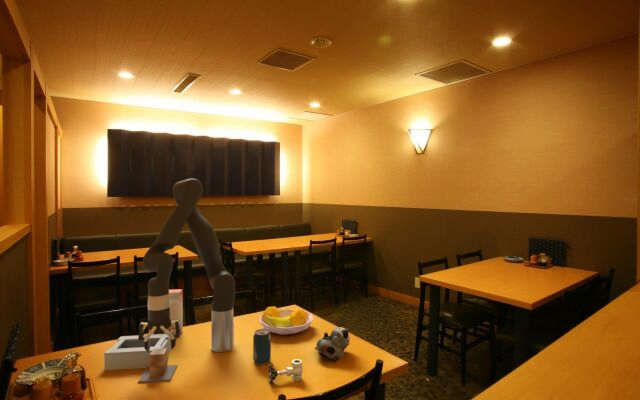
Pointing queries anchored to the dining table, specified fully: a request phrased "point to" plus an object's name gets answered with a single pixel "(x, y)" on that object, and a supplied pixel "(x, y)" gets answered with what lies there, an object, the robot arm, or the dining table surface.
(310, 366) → the dining table surface
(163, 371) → the walnut block
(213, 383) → the dining table surface
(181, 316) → the cracker box
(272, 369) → the valve
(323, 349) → the grey metal pump housing
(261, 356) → the soda can
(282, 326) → the fruit bowl
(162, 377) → the rubber pad
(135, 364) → the box
